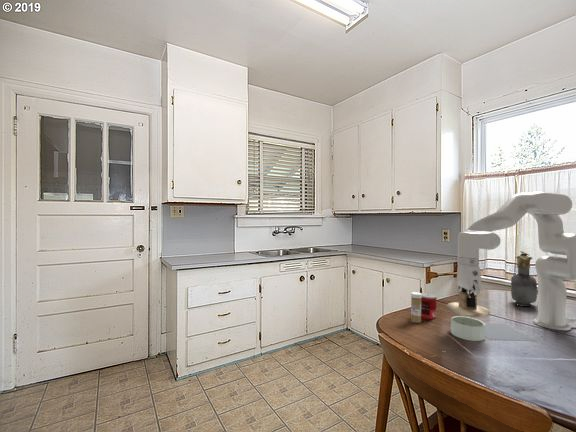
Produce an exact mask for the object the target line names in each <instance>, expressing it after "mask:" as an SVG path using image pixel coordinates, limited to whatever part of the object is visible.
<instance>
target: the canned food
mask: <svg viewBox="0 0 576 432" xmlns="http://www.w3.org/2000/svg"><path fill="white" fill-rule="evenodd" d="M420 293H421V294H422V298H421V319H423V320H427V321H432V320H435V319H436V318H437V307H438V306H437V300H438V299H437V295H436V294H434V293H431V292H420Z"/></svg>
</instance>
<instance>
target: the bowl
mask: <svg viewBox="0 0 576 432" xmlns="http://www.w3.org/2000/svg"><path fill="white" fill-rule="evenodd" d="M485 323H486V322H484V321H482V320H480V319H478V318H475V317H470V316H464V315H456V316H452V317H451V318H450V333H451V334H452V335H453V336H454V337H457V338H459V339H462V340H467V341H470V342H471V341H473V342H481V341H484V340H486V337H485Z"/></svg>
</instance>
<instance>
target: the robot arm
mask: <svg viewBox="0 0 576 432" xmlns="http://www.w3.org/2000/svg"><path fill="white" fill-rule="evenodd" d="M572 208H573V200H572V199H571V198H570V197H569V196H568V195H565V194H563V193H562V194H561V193H554V192H553V193H552V192H545V191H533V192H531V191H530V192H520V193H516V194H514V195H512V196H511V197H510V198H509V199H508V200H506V202H504V204H503V205H501V206H500V207H499V209H497V210H496V211H494V213H491V214H489V215H486V216H485V217H482V218H480V219H478V220H476V221H475V222H473V223H472V224H471V225H469V227H468V228H467V229H466V230H465V231H460V232H459V233H458V235H457V270H456V285H457V287H458V289H459V292H468V297H467V307H473V308H475V307H476V296H478V295H479V294H480V291H482V275H481V268H480V250H488V251H491V250H496V249H497V248H498V247H499V246H500V245H501V237H500V236H499V235H498V234H497V233H495V231H501V230H506V229H508V228H511V227H514V226H515V225H516V224H517V223H518V222H519V221H520V220H521V219H522V218H523V217H524V216H525V215H526V214H530V216H531V217H533V218H534V219H535V221H536V224H537V233H538V234H537V235H538V236H537V237H538V247H539V249H540V251H542V252H543V253H546V254H552V255H562V256H566V257H561V256H552V255H541V256H540V257H538V258H537V259H536V260H535V263H534V264H535V267H534V268H535V271H536V274H537V275H536V276H537V317H536V318H533V321H532V322H533V323H534V324H535V325H537V326H539V327H542V328H545V329H550V330H553V331H561V332H562V331H563V332H565V331H567V332H568V331H570V330H571V329H572V326H571V325H570V323H572V324H576V318H574V317H573V318H571V317H570V318H569V317H568V316H567V286H566V284H565V283H564V281H563V280H565V281H571V282H576V233H567V232H564V222H563V220H562V218H561V217H560V215H563V216H564V215H566V214H567V213H569V212H571V210H572ZM470 292H471V293H470Z"/></svg>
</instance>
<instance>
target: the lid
mask: <svg viewBox="0 0 576 432" xmlns="http://www.w3.org/2000/svg"><path fill="white" fill-rule="evenodd" d="M470 293H472V291H470ZM477 296H478V295H477ZM477 296H476V307H475V308H473V307H467V297H468V292H460V291H458V302H456V301H455V302H449V303H447V304H446V309H447V310H448V311H449V312H451V313H453V314H457V315H459V316H465V317H471V318H487V317H489V316H490V313H491V312H490V309H488V308H486V307H484V306H481V305H479V304H478V301H477V300H478V297H477Z"/></svg>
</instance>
